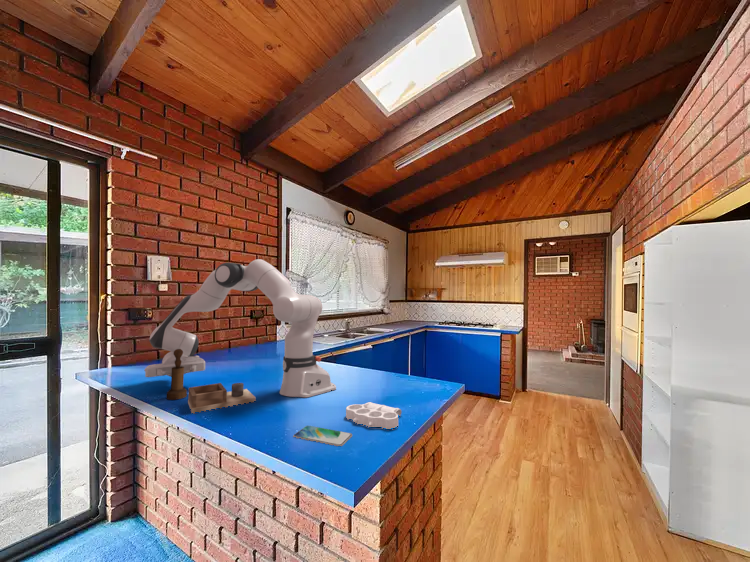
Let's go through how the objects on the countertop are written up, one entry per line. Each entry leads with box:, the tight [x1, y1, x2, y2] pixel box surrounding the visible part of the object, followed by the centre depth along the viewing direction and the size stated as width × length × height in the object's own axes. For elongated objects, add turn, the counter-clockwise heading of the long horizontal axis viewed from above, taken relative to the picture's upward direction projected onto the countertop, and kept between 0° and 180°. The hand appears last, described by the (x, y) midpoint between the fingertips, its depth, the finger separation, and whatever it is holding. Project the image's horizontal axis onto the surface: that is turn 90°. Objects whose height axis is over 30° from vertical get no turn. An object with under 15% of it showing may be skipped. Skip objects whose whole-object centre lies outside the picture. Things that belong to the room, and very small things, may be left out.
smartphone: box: [292, 425, 353, 447], centre depth 85 cm, size 7×1×15 cm
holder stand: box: [187, 382, 257, 414], centre depth 112 cm, size 20×13×6 cm, turn 126°
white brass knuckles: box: [345, 401, 403, 429], centre depth 97 cm, size 3×18×15 cm
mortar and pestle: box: [165, 349, 188, 401], centre depth 118 cm, size 7×6×18 cm
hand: (177, 371), depth 119 cm, fingers open, 8 cm apart
